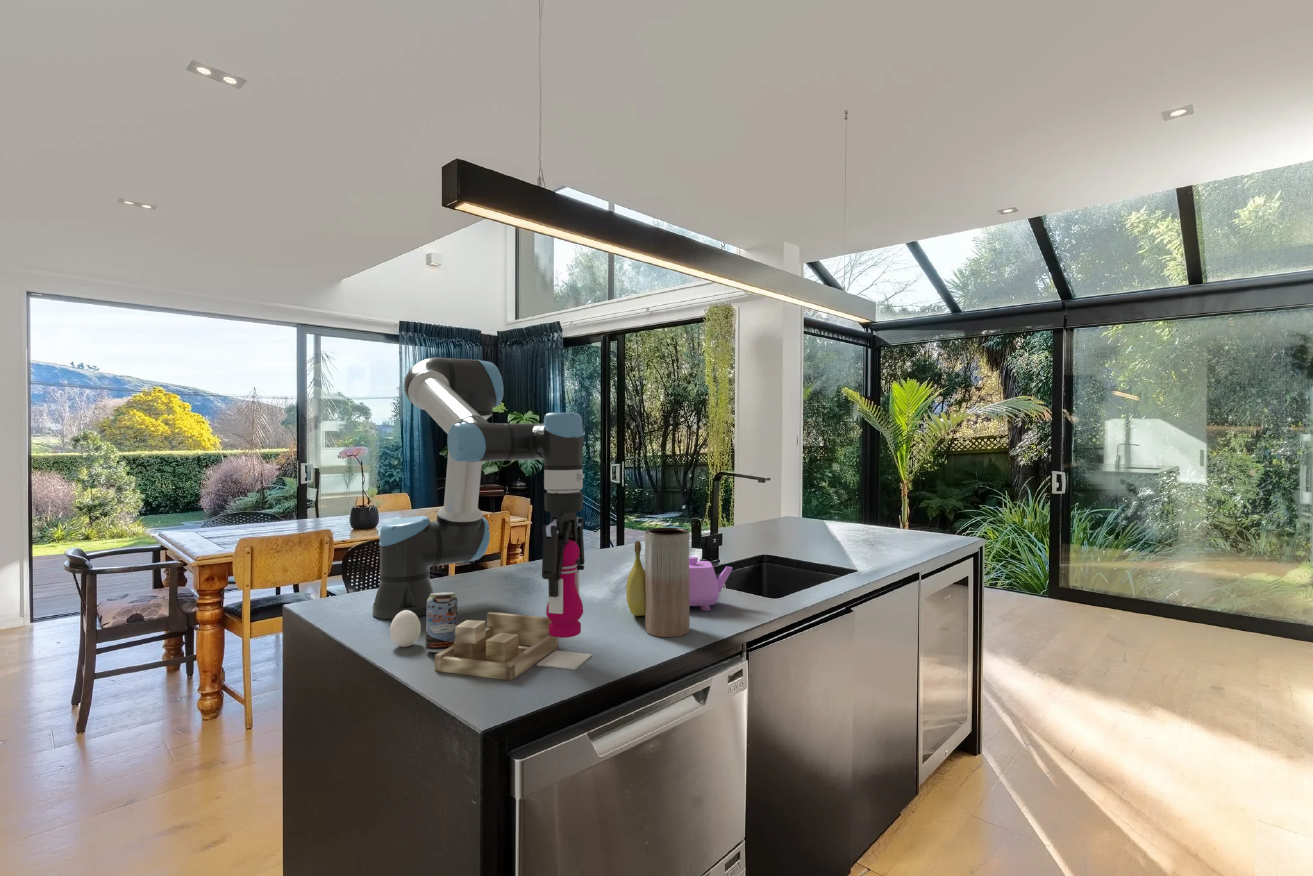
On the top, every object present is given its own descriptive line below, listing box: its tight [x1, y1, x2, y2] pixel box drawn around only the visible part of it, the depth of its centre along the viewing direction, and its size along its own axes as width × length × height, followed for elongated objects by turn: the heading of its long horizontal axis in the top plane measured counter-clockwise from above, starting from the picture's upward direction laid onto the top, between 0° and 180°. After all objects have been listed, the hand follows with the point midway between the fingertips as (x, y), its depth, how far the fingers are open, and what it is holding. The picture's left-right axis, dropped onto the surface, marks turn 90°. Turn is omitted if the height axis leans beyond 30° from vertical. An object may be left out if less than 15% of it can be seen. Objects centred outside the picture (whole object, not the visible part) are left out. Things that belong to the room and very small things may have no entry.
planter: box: [644, 527, 691, 638], centre depth 143 cm, size 10×10×23 cm
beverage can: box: [424, 591, 458, 653], centre depth 131 cm, size 6×7×12 cm
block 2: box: [454, 636, 487, 661], centre depth 123 cm, size 4×5×5 cm
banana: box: [625, 540, 645, 617], centre depth 156 cm, size 23×6×20 cm, turn 178°
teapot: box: [689, 556, 733, 612], centre depth 164 cm, size 20×12×13 cm, turn 90°
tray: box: [434, 611, 560, 681], centre depth 126 cm, size 16×19×6 cm
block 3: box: [486, 633, 519, 663], centre depth 121 cm, size 4×5×6 cm
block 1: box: [455, 619, 487, 644], centre depth 123 cm, size 4×5×3 cm
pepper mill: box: [545, 539, 584, 638], centre depth 125 cm, size 7×7×20 cm
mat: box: [536, 649, 592, 671], centre depth 125 cm, size 8×8×1 cm
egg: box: [389, 610, 422, 648], centre depth 134 cm, size 6×6×8 cm
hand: (564, 607), depth 125 cm, fingers closed on pepper mill, 7 cm apart
